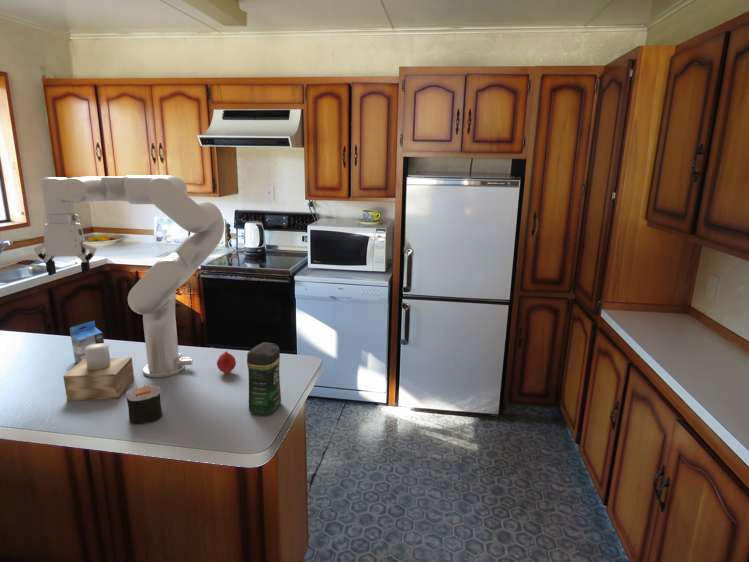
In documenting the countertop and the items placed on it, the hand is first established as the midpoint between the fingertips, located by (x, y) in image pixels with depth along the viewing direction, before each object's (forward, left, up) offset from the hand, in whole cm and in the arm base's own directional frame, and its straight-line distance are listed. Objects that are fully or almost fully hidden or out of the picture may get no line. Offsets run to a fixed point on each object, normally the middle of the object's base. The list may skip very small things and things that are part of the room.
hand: (69, 274), depth 145 cm
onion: (-47, +7, -33) cm, 58 cm away
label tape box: (+2, -10, -33) cm, 34 cm away
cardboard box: (-12, +15, -32) cm, 38 cm away
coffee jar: (-62, +30, -33) cm, 76 cm away
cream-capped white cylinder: (-12, +15, -25) cm, 31 cm away
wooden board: (-12, +15, -25) cm, 32 cm away
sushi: (-30, +32, -33) cm, 55 cm away
